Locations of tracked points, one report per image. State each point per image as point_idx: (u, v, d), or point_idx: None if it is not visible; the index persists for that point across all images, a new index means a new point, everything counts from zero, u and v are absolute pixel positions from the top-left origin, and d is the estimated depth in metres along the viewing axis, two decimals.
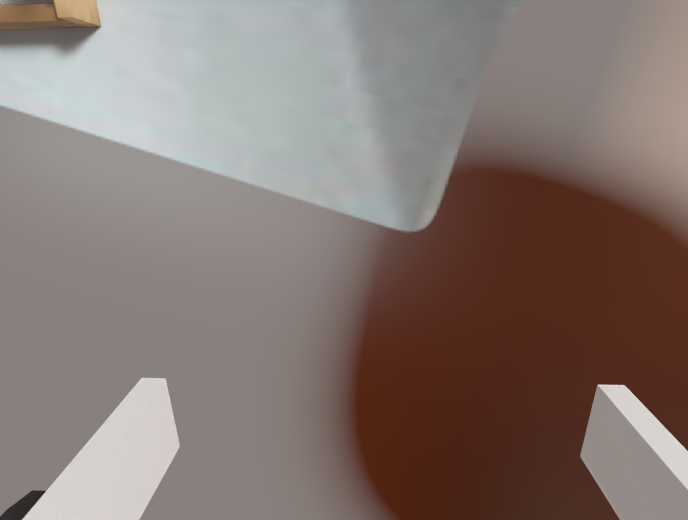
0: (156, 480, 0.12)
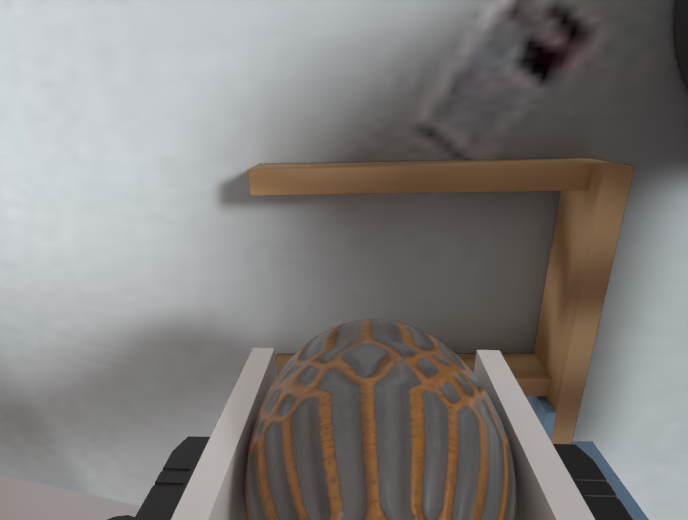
0: None
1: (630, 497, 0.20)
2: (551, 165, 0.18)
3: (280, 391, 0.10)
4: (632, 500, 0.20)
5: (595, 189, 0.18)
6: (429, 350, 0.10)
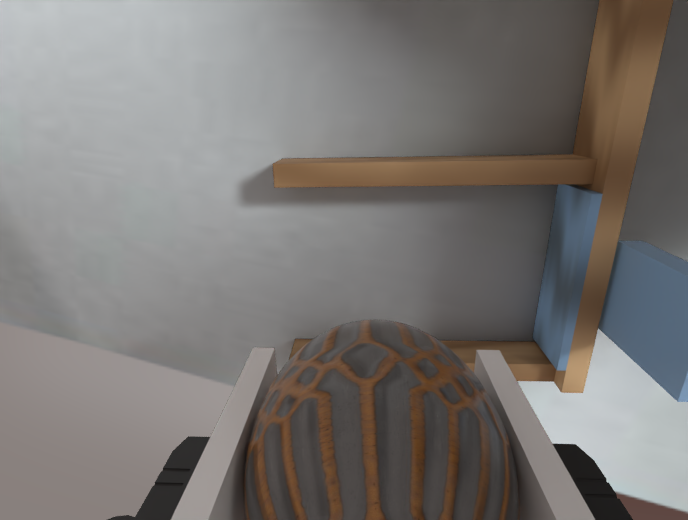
0: None
1: None
2: None
3: (279, 392, 0.10)
4: None
5: None
6: (429, 350, 0.10)
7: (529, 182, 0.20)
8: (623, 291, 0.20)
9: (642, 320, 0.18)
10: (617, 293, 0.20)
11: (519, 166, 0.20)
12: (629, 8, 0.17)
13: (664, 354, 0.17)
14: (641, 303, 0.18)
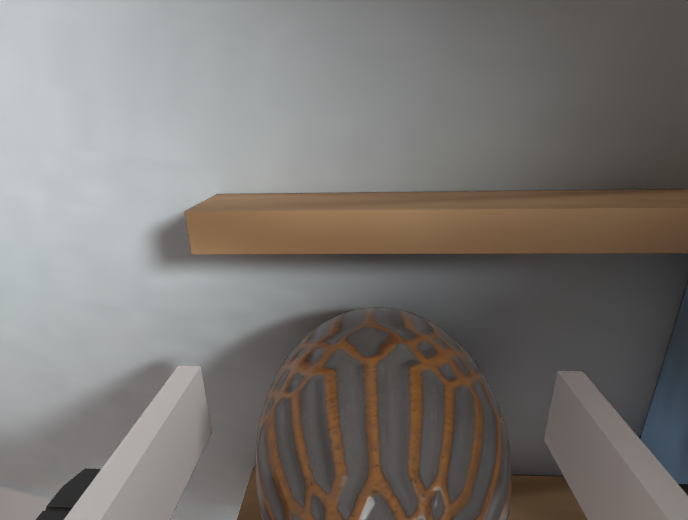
0: (193, 463, 0.12)
1: None
2: None
3: (289, 371, 0.10)
4: None
5: None
6: (429, 334, 0.11)
7: (679, 249, 0.10)
8: None
9: None
10: None
11: (664, 220, 0.10)
12: None
13: None
14: None
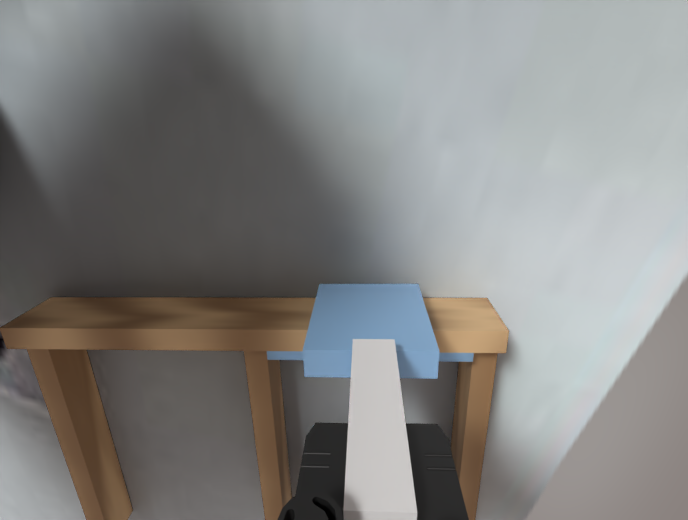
0: None
1: (311, 319, 0.17)
2: (34, 366, 0.22)
3: None
4: (310, 322, 0.17)
5: None
6: None
7: (268, 389, 0.21)
8: None
9: None
10: None
11: (255, 397, 0.22)
12: None
13: None
14: None
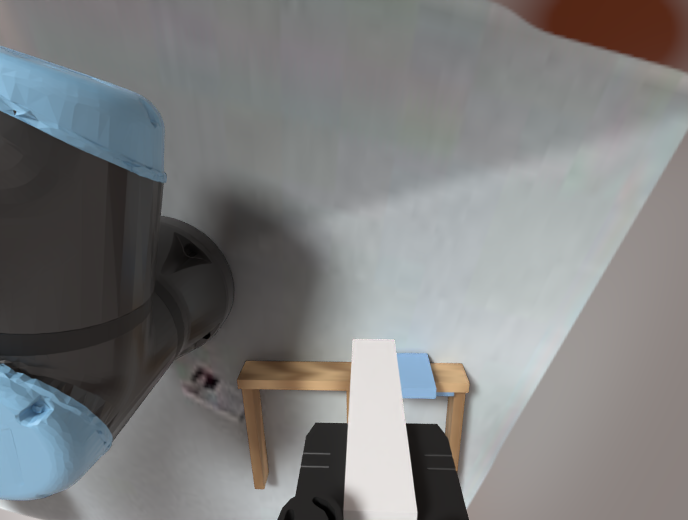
0: None
1: None
2: (243, 396, 0.45)
3: None
4: None
5: None
6: None
7: None
8: None
9: None
10: None
11: None
12: None
13: None
14: None
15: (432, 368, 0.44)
